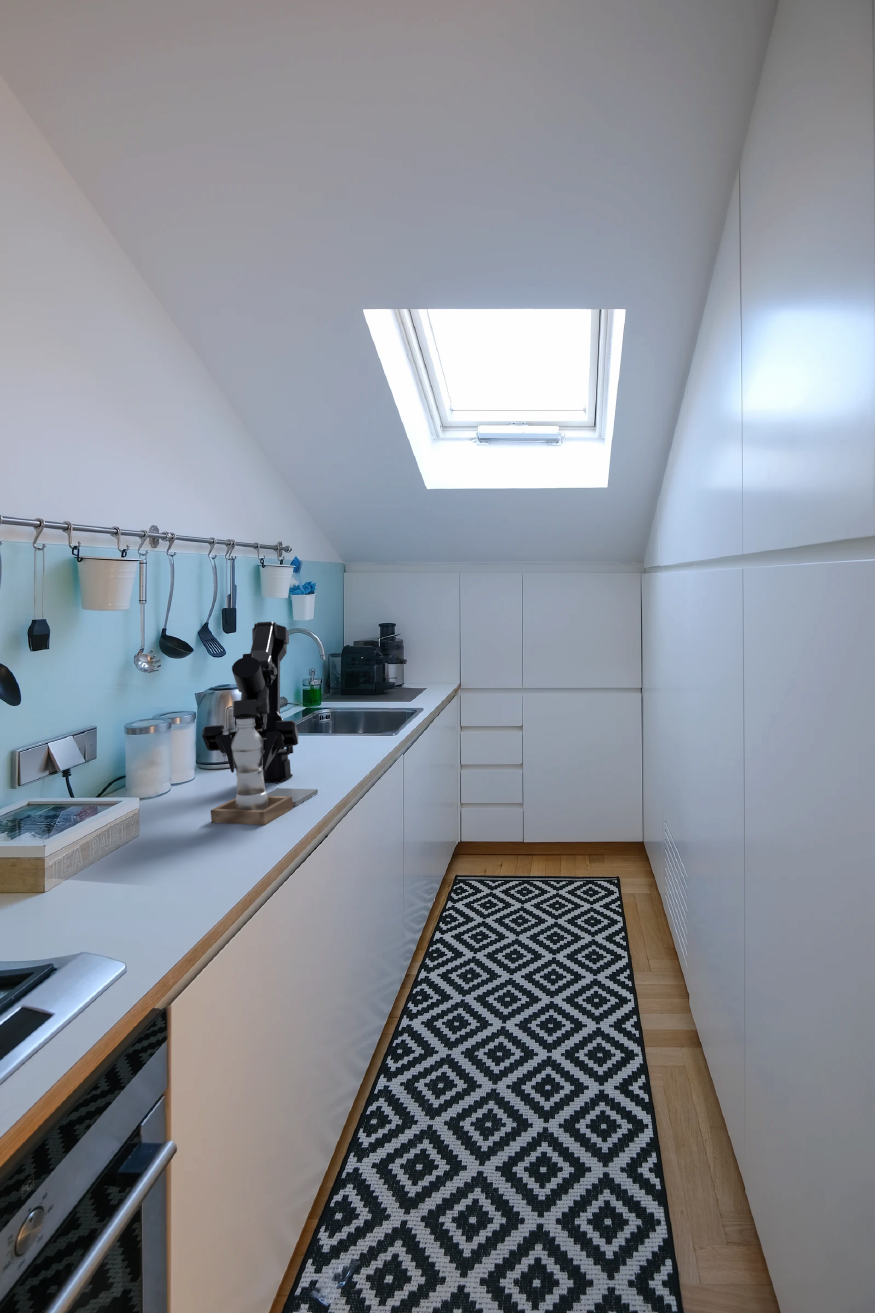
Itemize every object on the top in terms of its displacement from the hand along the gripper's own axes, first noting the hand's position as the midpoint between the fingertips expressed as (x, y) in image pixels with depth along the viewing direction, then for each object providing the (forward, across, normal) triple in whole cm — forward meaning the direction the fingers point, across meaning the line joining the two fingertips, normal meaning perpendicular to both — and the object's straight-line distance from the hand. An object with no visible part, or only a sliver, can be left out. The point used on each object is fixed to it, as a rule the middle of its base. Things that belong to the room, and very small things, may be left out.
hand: (248, 770), depth 150 cm
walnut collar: (+6, 0, +8) cm, 10 cm away
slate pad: (-2, +5, +15) cm, 16 cm away
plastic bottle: (+6, 0, +8) cm, 10 cm away
